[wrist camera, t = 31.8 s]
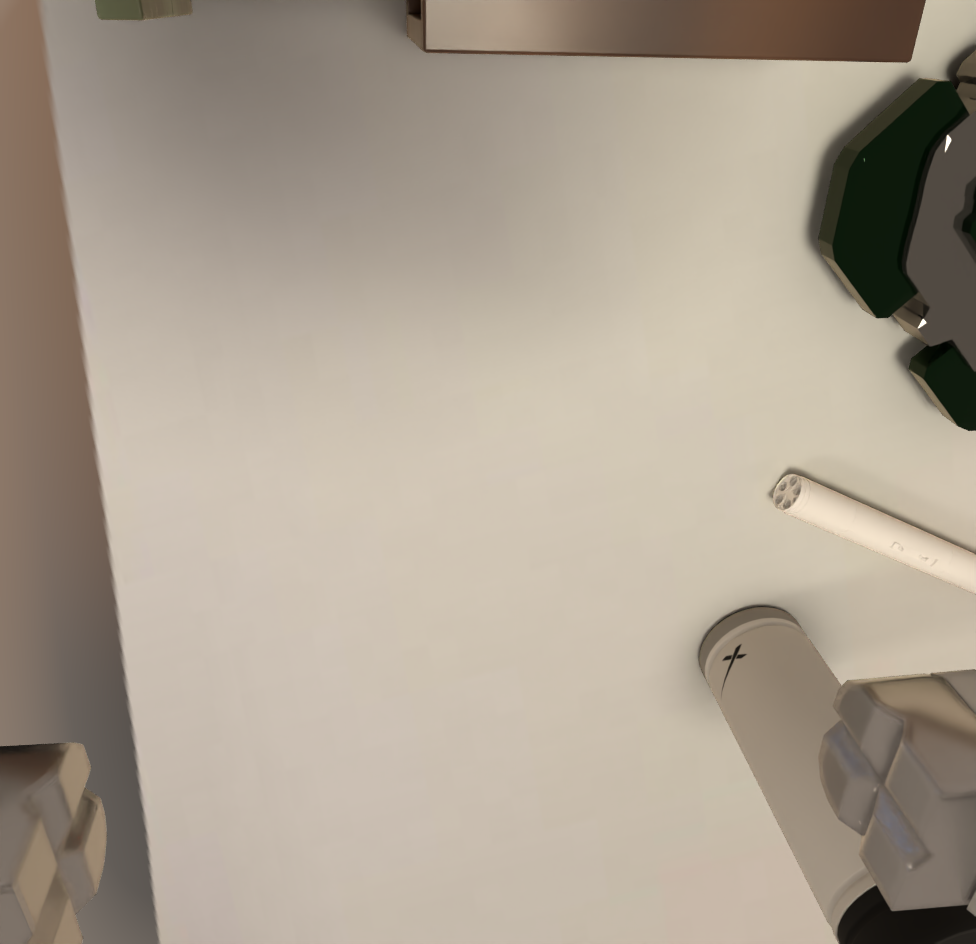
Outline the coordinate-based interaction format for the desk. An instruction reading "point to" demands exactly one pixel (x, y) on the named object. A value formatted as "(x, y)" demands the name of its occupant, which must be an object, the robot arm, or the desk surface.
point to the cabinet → (671, 28)
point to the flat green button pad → (915, 230)
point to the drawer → (141, 9)
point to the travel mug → (807, 773)
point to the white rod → (875, 530)
